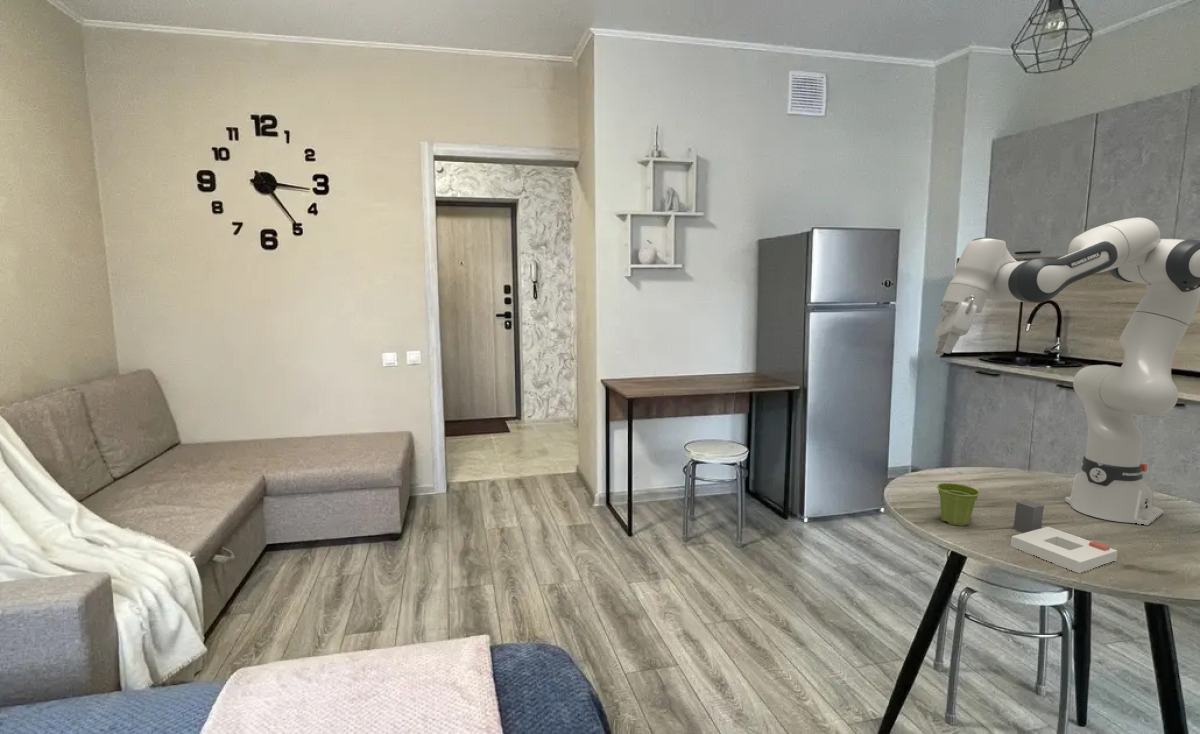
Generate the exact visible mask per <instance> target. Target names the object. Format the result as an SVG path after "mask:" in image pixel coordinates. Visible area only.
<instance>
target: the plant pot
mask: <svg viewBox="0 0 1200 734" xmlns="http://www.w3.org/2000/svg"><path fill="white" fill-rule="evenodd" d="M936 488H937V489H938V494H939V499H940V500H939V502H940V516H941V517H940V518H941V519H940V520H942V521H943V522H947V523H948V524H949V525H955V526H959V527H960V526H961V527H963V526H966V525H967V526H968V525H969V524H970V521H971V517H972V514H973V510H974V506H975V505H976V504H975V503H976V501H977V498H978V497H979V496H980V494H981V491H979V489H977V488H974V487H971V486H969V485H965V484H961V483H954V482H944V483H943V482H942V483H938V484H937V485H936Z"/></svg>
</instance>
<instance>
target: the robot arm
mask: <svg viewBox="0 0 1200 734" xmlns="http://www.w3.org/2000/svg"><path fill="white" fill-rule="evenodd" d="M954 271H955V272H954V276H953V278H952V279H951V281H950V282H949V283H948V285H947V288H946V291H945V294H944V296H943V297H942V298H943V299H942V301H941V305H940V309H941V313H940V316H939V317H938V321H937V325H936V327H935V331H934V338H935V339H937V342H936V346H935V347H936V348H935V350H934V352H933V353H934V355H935V356H938V357H941V356H943V355H944V353H945V354H951V353H952V352H953V351H954V350H953V349H954V347H955V346H956V344H957V343H958V341H959V339H960V337H962V336H966V335H967V334H968V332H969V331H970V329H971V327H972V325H973V324H972V323H973V320H974V318H975V315H976V314H981V313H982V311H983V309H984V307H985V304H986V302H987V299H990V300H992V301H995V302H1000V303H1016V302H1017V303H1019V302H1020V303H1023V302H1025V303H1034V304H1035V303H1037V304H1039V303H1045V302H1047V301H1048V302H1049V301H1050V300H1052V299H1053V298H1055V297H1056V296H1057V295H1058V294H1059V293H1060V292H1062V291H1063V290H1064V289H1065V288H1066V287H1068V286H1069V285H1071V284H1074V283H1075V282H1077V281H1081V280H1082V279H1085V278H1087V277H1090V276H1092V275H1095V274H1099V273H1104V272H1107V271H1109V273H1110V274H1111V276H1112V277H1113V278H1115V279H1116V280H1120V281H1123V282H1126V283H1140V284H1144V285H1145V284H1146V286H1145V287H1146V289H1145V290H1146V291H1145V294H1144V296H1142V298H1141V300H1140V301H1139V303H1138V304H1137V306H1136V308H1135V309H1134V310H1133V313H1132V315H1131V317H1130V319H1129V320H1128V322H1127V324H1126V326H1125V327H1124V330H1123V331H1122V333H1121V335H1120V337H1119V340H1118V341H1119V345H1120V346H1121V348H1122V349H1123V361H1122V365H1121V366H1116V365H1111V364H1110V365H1109V364H1093V365H1086V366H1085V367H1083V368H1081V369H1080V370H1078V372H1076V374H1075V375H1074V377H1073V381H1072V385H1073V390H1074V392H1075V393H1076V394H1077V396H1078V397H1079V398H1080V401H1081V403H1082V405H1083V406H1082V407H1083V408H1084V412H1085V418H1086V423H1087V440H1086V447H1085V455H1084V456H1083V457H1082V460H1081V472H1078V473H1075V475H1074V479H1073V485H1072V489H1071V491H1070V492H1071V493H1070V496H1065V498H1064V502H1066V503H1067V504H1069V505H1070V507H1071V508H1072V509H1073V510H1075V511H1077V512H1078V513H1081V514H1084V515H1087V516H1090V517H1094V518H1097V519H1102V520H1105V521H1112V522H1119V523H1130V524H1135V523H1137V525H1141V524H1144V525H1143V526H1150V525H1151V524H1152V523H1153V522H1155V521H1156V520H1157V519H1158V518H1160V517H1161V516H1162V515H1163V514H1164V510H1163V509H1162V508H1160V507H1157V506H1155V505H1153V500H1154V491H1153V489H1152V488H1151V487H1149V485H1148V484H1147V483H1146V482H1145V481H1144V480H1143V476H1144V475H1143V474H1144V472H1146V471H1147V470H1148V464H1146V463H1141V460H1142V455H1143V454H1142V453H1143V447H1144V446H1143V445H1144V435H1143V433H1142V431H1141V429H1140V428H1138V426H1137V424H1136V422H1135V419H1134V417H1133V415H1135V416H1136V415H1137V416H1151V417H1154V416H1155V417H1156V416H1157V417H1158V416H1162V415H1165V414H1167V413H1169V412H1171V410H1172V409H1173V408H1175V406H1176V405H1177V403H1178V399H1179V390H1178V387H1177V386H1176V384H1175V383H1174V381H1173V377H1172V364H1173V361H1174V356H1175V353H1176V352H1177V349H1178V347H1179V345H1180V343H1181V342H1182V340H1183V338H1184V336H1185V334H1186V333H1187V330H1188V328H1189V326H1190V324H1191V323H1192V320H1193V319H1194V317H1195V315H1196V312H1197V309H1198V306H1199V303H1200V240H1198V239H1179V238H1161V230H1160V228H1159V227H1158V225H1157V224H1156V223H1155V222H1154V221H1152V220H1150V218H1145V217H1130V218H1124V219H1120V220H1116V221H1112V222H1108V223H1105V224H1101V225H1099V226H1097V227H1092V228H1090V229H1089V230H1086V231H1084V232H1082V233H1080V234H1079V235H1077V236H1075V237H1074V238H1073V239H1072V240H1071V241H1070V243H1069V246H1068V249H1067V254H1066V255H1064V256H1061V257H1059V258H1047V257H1041V258H1040V257H1038V258H1033V259H1029V260H1021V261H1017V260H1016V259H1015V258H1014V257H1013V256H1012V254H1011V253H1010V251H1009V249H1008V248H1007V244H1006V241H1005V240H1003V239H1001V238H996V237H977V238H974V239H972V240H970V241H969V242H968V244H966V246H965V248H964V249H963V251H962V253H961V255H960V257H959V259H958V261H957V264H956V266H955V270H954ZM1162 513H1163V514H1162ZM1161 514H1162V515H1161ZM1160 515H1161V516H1160ZM1159 516H1160V517H1159ZM1157 517H1158V518H1157ZM1156 518H1157V519H1156ZM1155 519H1156V520H1155ZM1154 520H1155V521H1154ZM1151 522H1152V523H1151ZM1150 523H1151V524H1150ZM1149 524H1150V525H1149Z"/></svg>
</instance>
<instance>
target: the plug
mask: <svg viewBox="0 0 1200 734" xmlns="http://www.w3.org/2000/svg"><path fill="white" fill-rule="evenodd" d="M1044 509H1045V507H1044V504H1040V503H1037V502H1034V501H1032V500H1028V499H1025V500H1020V501H1016V504H1015V513H1014V522H1013V527H1012V529H1013V530H1015V531H1017V532H1020V533H1026V532H1030V531H1033V530H1037V529H1041V528H1042V525H1043V516H1044V515H1043V514H1044Z"/></svg>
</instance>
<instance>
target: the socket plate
mask: <svg viewBox="0 0 1200 734" xmlns="http://www.w3.org/2000/svg"><path fill="white" fill-rule="evenodd" d="M1110 546H1111V545H1110ZM1110 546H1109V545H1107V544H1103V543H1101V542H1098V541H1097V540H1096V541H1095V540H1093V541H1091V540H1088V539H1085V538H1083V537H1079V536H1077V535H1074V534H1071V533H1067V532H1065V531H1063V530H1059V529H1056V528H1053V527H1051V526H1045V527H1041V529H1037V530H1033V531H1030V532H1026V533H1023V532H1021V533H1019V534H1014V535H1012V536H1011V540H1010V547H1011V548H1013V549H1016V550H1018V549H1019V550H1018V551H1021V550H1022V551H1021V552H1023V551H1024V552H1023V553H1026V554H1028V553H1029V555H1031V554H1032V555H1031V556H1033V555H1035V556H1034V557H1036V556H1037V558H1038V557H1040V558H1039V559H1041V558H1042V559H1041V560H1043V559H1044V561H1046V560H1047V562H1048V563H1051V562H1052V563H1051V564H1054V565H1057V566H1059V567H1061V566H1062V568H1063V569H1066V568H1067V569H1066V570H1070V571H1071V570H1072V572H1074V573H1076V572H1078V573H1077V574H1081V572H1082V573H1085V572H1088V571H1091V570H1094V569H1096V568H1095V567H1097V568H1099V567H1098V566H1100V565H1103V564H1106V563H1109V562H1112V561H1115V562H1117V559H1118V558H1117V557H1118V550H1117V549H1114V548H1111V547H1110ZM1112 563H1113V562H1112ZM1109 564H1110V563H1109ZM1106 565H1107V564H1106ZM1103 566H1104V565H1103ZM1100 567H1101V566H1100ZM1093 568H1094V569H1093ZM1090 569H1091V570H1090ZM1087 570H1088V571H1087ZM1084 571H1085V572H1084Z"/></svg>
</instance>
